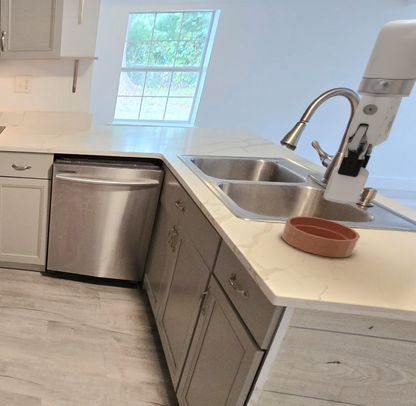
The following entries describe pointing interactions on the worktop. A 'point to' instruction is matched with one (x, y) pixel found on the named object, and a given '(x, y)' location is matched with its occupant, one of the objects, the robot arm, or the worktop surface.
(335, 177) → the eye dropper bottle
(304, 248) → the bowl
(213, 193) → the worktop surface
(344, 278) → the worktop surface
